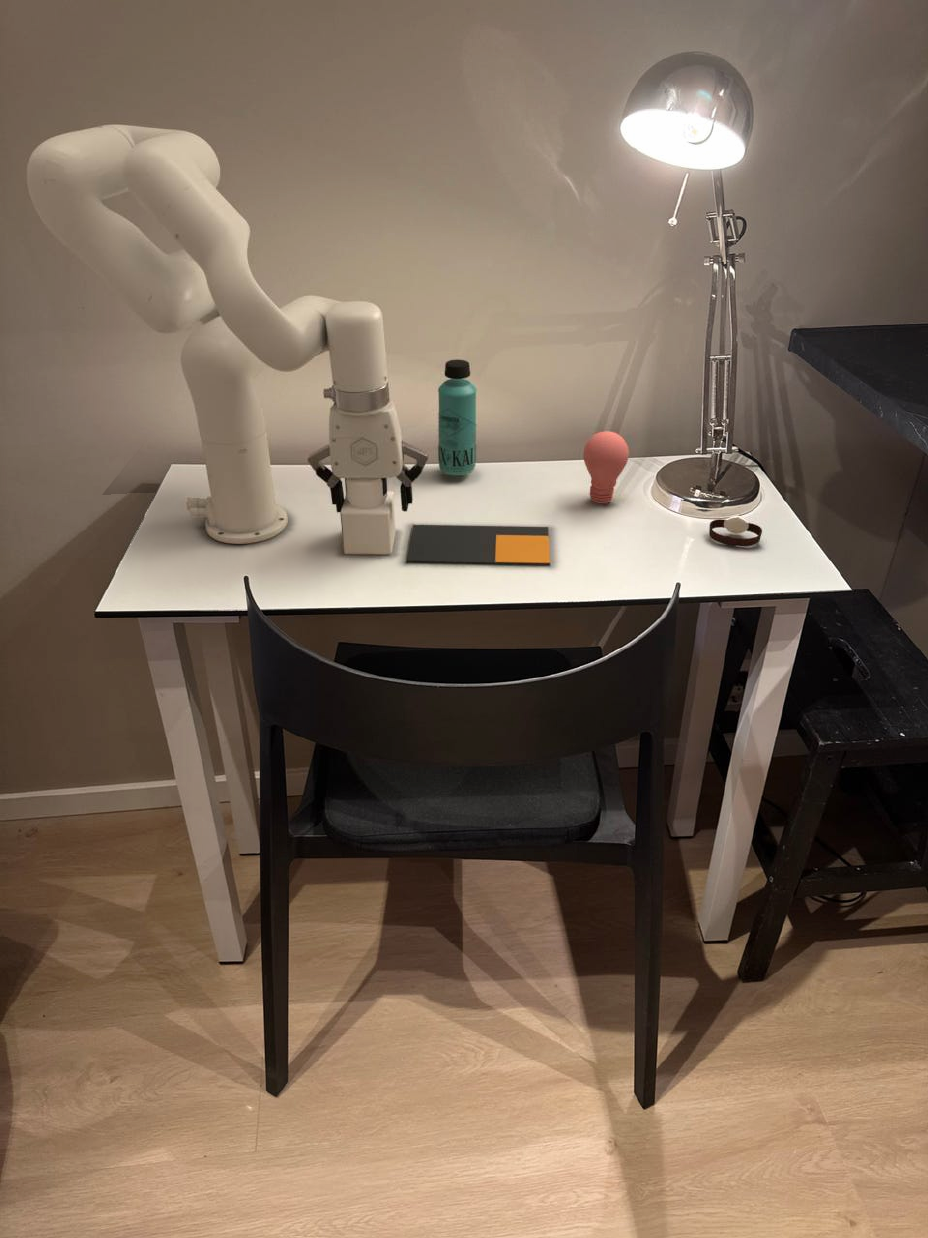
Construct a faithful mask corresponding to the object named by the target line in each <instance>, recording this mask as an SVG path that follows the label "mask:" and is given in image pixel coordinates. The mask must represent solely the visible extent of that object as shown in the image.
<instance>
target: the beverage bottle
mask: <svg viewBox="0 0 928 1238" xmlns="http://www.w3.org/2000/svg"><path fill="white" fill-rule="evenodd" d="M470 369H471V368H470V362H469V361H467V360H465V359H457V358H456V359H450V360H447V361H446V362H445V364H444V376H445V377H446V378H448V379H447V380H445V381H444V382H442V383H441V385H439V386H438V388H437V392H438V425H437V429H438V435H437V439H438V445H437V459H438V460H437V462H438V468H439V469H440V471H441V473H444V474H446V475H449V476H464V475H467V474H470V473H472V472H473V471H474V470H475V468H476V463H477V462H476V461H477V455H476V449H477V427H478V425H477V422H476V419H477V387H476V386H475V385H474V384H473V383H472V382H471V381H469V380H467V378H469V377H470V376H471V370H470Z"/></svg>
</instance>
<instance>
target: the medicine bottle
mask: <svg viewBox="0 0 928 1238" xmlns="http://www.w3.org/2000/svg"><path fill="white" fill-rule="evenodd" d="M344 485H345V486H344V487H345V495H344V503H343V506H342V509H341V512H339V513H340V523H341V524H340V525H341V536H342V546H343V547H342V548H343V553H344V555H373V556H374V555H381V556H386V555H388V556H389V555H391V554H392V552H393V549H394V543H395V538H396V533H397V531H396V530H397V529H396V513H395V493H394V492H393V491H389V490H388V478H356V479H347V478H344Z"/></svg>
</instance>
